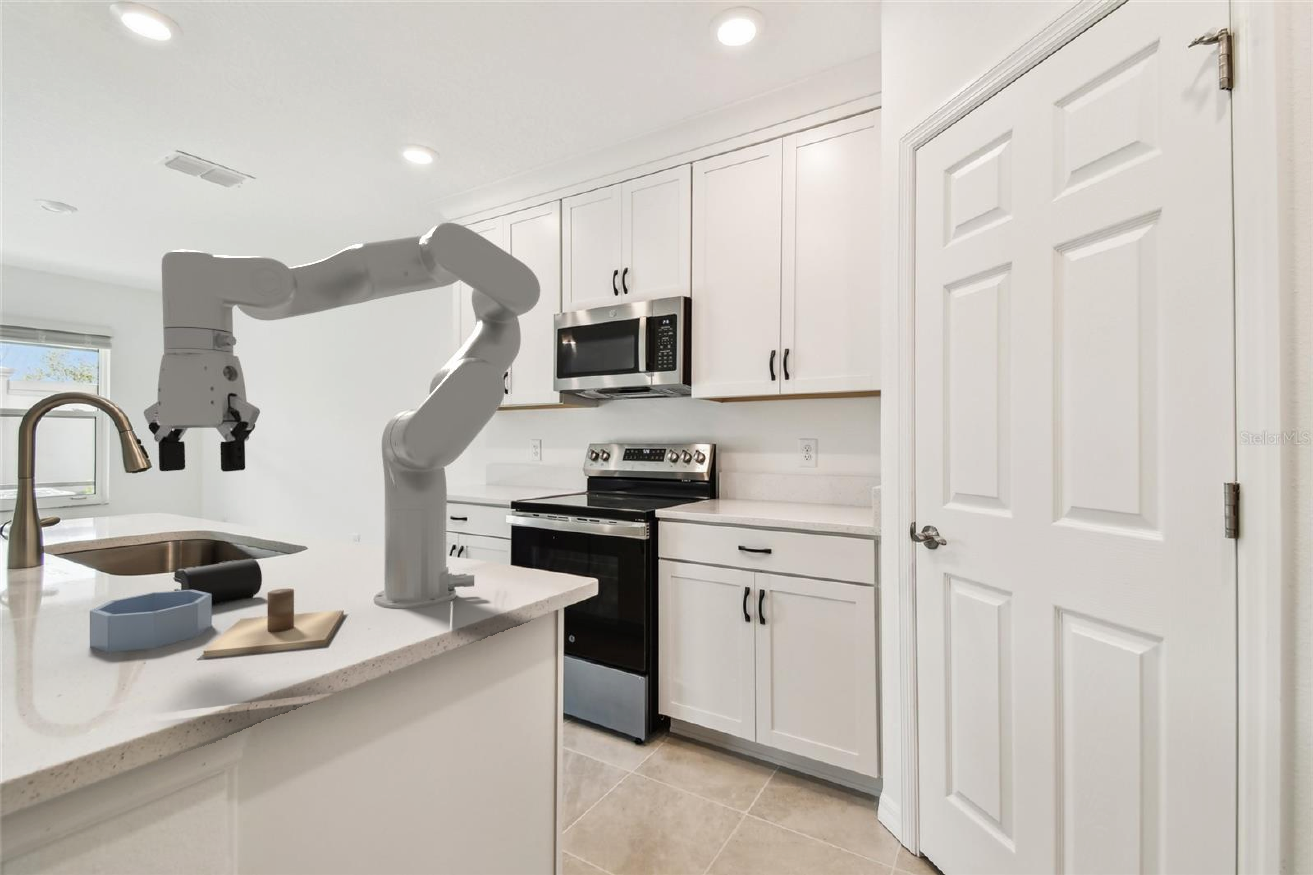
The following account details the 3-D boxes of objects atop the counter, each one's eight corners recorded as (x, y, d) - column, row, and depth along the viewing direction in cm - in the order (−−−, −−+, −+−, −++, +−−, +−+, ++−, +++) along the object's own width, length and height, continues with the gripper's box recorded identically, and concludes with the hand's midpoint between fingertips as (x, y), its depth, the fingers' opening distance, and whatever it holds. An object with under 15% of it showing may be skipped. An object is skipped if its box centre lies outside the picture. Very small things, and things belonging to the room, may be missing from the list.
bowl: (220, 621, 86) (220, 587, 86) (186, 649, 75) (186, 610, 75) (124, 629, 82) (123, 594, 82) (73, 659, 71) (73, 619, 71)
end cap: (189, 617, 88) (189, 572, 88) (170, 609, 92) (170, 566, 92) (262, 601, 97) (262, 560, 97) (242, 594, 101) (242, 555, 101)
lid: (343, 615, 87) (343, 576, 87) (325, 645, 75) (325, 600, 75) (241, 624, 83) (241, 583, 83) (203, 657, 71) (203, 609, 71)
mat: (347, 618, 88) (347, 614, 88) (328, 651, 75) (328, 646, 75) (238, 627, 84) (238, 623, 83) (196, 664, 70) (196, 659, 70)
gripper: (277, 347, 82) (280, 468, 83) (172, 350, 85) (175, 468, 86) (230, 339, 75) (233, 473, 75) (117, 343, 78) (120, 472, 78)
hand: (202, 470), depth 81 cm, fingers open, 9 cm apart
